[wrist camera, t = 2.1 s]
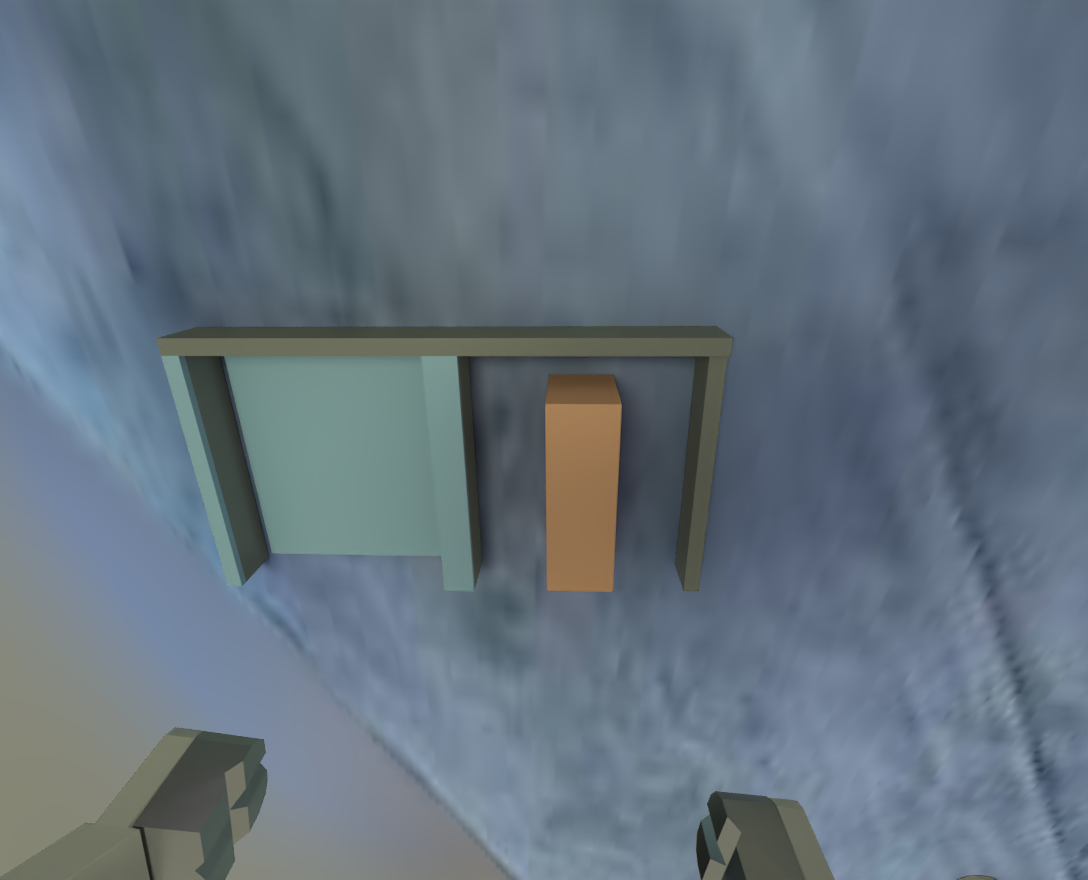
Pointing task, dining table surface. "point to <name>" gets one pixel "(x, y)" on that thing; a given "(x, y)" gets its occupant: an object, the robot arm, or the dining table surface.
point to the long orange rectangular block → (581, 481)
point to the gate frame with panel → (387, 434)
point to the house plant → (977, 878)
